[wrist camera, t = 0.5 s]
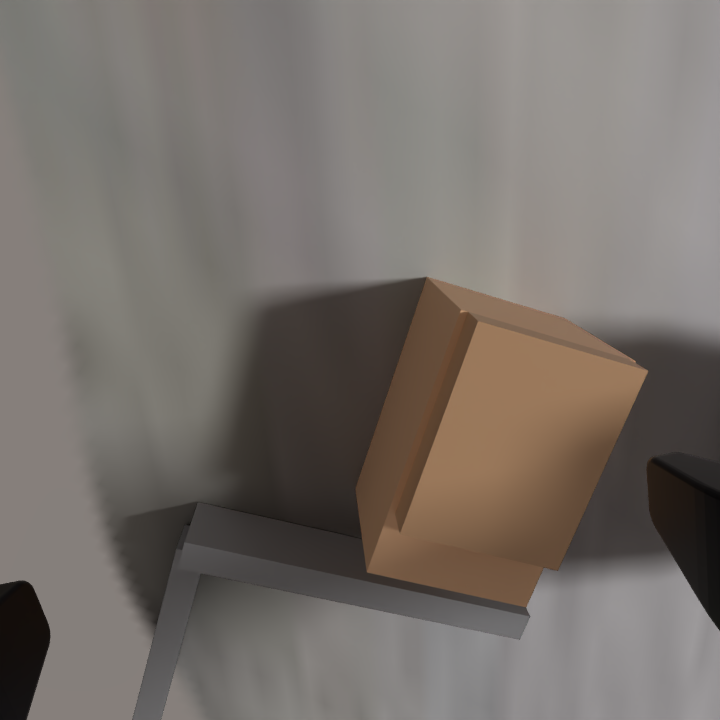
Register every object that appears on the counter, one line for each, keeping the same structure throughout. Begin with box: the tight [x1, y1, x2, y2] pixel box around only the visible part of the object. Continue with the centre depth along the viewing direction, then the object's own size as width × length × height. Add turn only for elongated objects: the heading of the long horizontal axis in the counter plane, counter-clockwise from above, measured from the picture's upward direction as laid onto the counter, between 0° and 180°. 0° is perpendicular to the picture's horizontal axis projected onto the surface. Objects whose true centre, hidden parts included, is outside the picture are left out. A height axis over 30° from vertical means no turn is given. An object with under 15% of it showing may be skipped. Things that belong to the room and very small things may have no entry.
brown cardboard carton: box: [355, 277, 648, 607], centre depth 19 cm, size 5×8×6 cm, turn 163°
